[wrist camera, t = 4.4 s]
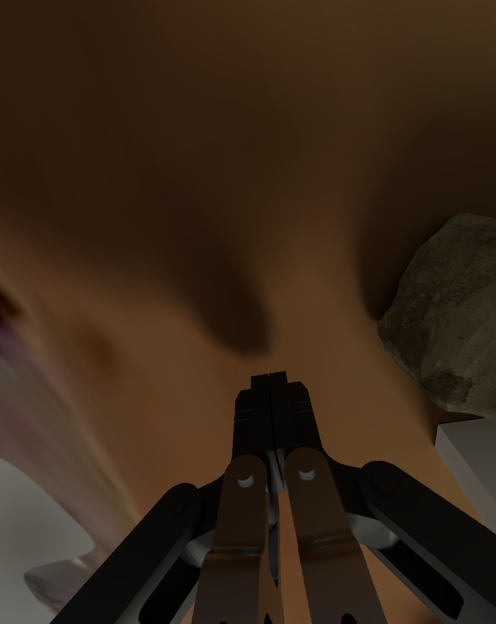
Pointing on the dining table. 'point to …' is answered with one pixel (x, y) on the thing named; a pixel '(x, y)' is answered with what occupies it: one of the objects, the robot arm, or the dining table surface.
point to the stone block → (449, 317)
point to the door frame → (472, 462)
